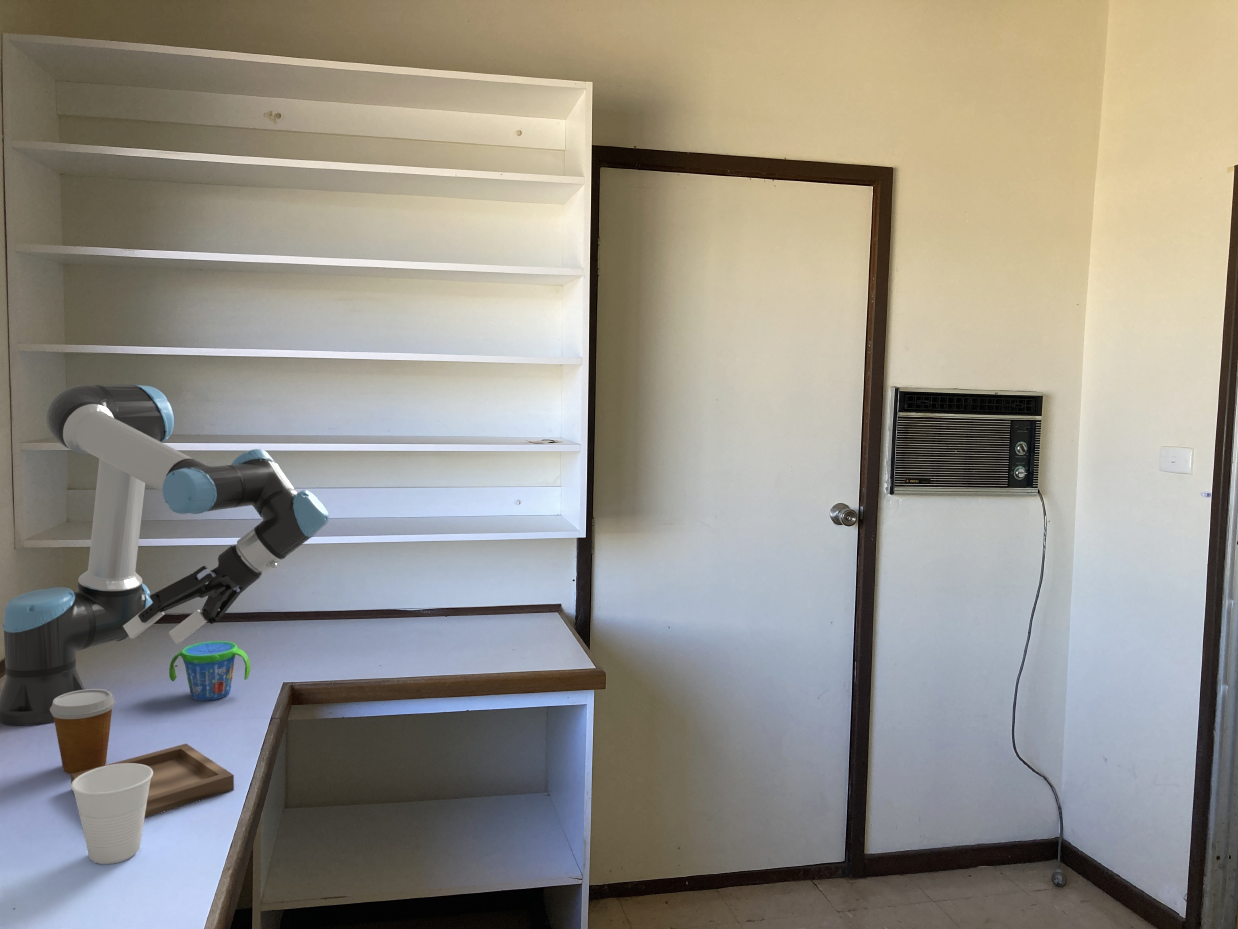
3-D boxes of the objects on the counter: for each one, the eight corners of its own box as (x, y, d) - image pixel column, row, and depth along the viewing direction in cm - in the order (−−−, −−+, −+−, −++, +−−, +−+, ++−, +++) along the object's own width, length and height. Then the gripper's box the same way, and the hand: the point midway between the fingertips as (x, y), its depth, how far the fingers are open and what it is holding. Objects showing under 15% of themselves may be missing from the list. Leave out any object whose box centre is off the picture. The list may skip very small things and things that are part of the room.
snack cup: (160, 703, 186) (159, 654, 185) (185, 686, 196) (184, 639, 195) (237, 705, 186) (236, 656, 185) (258, 688, 196) (257, 641, 195)
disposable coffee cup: (106, 776, 152) (104, 705, 151) (42, 780, 150) (39, 708, 149) (124, 753, 161) (122, 686, 160) (64, 757, 159) (62, 689, 158)
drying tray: (71, 789, 147) (70, 774, 146) (186, 757, 160) (186, 743, 160) (113, 828, 135) (112, 811, 134) (233, 789, 148) (233, 774, 148)
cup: (136, 829, 134) (134, 756, 133) (167, 852, 128) (166, 776, 127) (61, 855, 127) (58, 778, 126) (91, 881, 120) (88, 800, 119)
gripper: (224, 564, 151) (118, 647, 149) (291, 584, 175) (200, 656, 173) (201, 529, 152) (95, 611, 151) (270, 554, 176) (180, 625, 175)
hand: (151, 635), depth 162 cm, fingers open, 13 cm apart
